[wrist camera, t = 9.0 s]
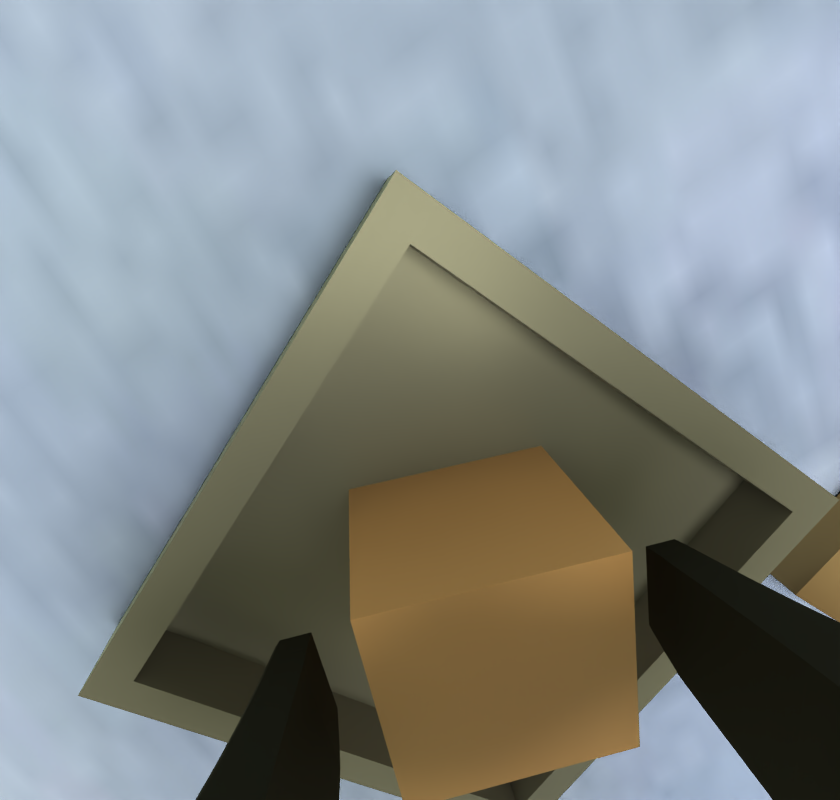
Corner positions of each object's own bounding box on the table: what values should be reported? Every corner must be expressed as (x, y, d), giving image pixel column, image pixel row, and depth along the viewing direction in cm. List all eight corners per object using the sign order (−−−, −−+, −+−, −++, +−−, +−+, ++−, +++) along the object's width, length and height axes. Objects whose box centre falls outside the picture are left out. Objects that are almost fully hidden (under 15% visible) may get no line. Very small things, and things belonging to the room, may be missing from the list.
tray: (503, 766, 16) (523, 835, 14) (116, 626, 12) (78, 695, 10) (773, 462, 13) (839, 499, 12) (387, 179, 10) (396, 169, 8)
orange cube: (388, 640, 13) (405, 810, 9) (348, 489, 11) (350, 619, 8) (557, 598, 13) (639, 746, 10) (541, 445, 12) (632, 551, 8)
